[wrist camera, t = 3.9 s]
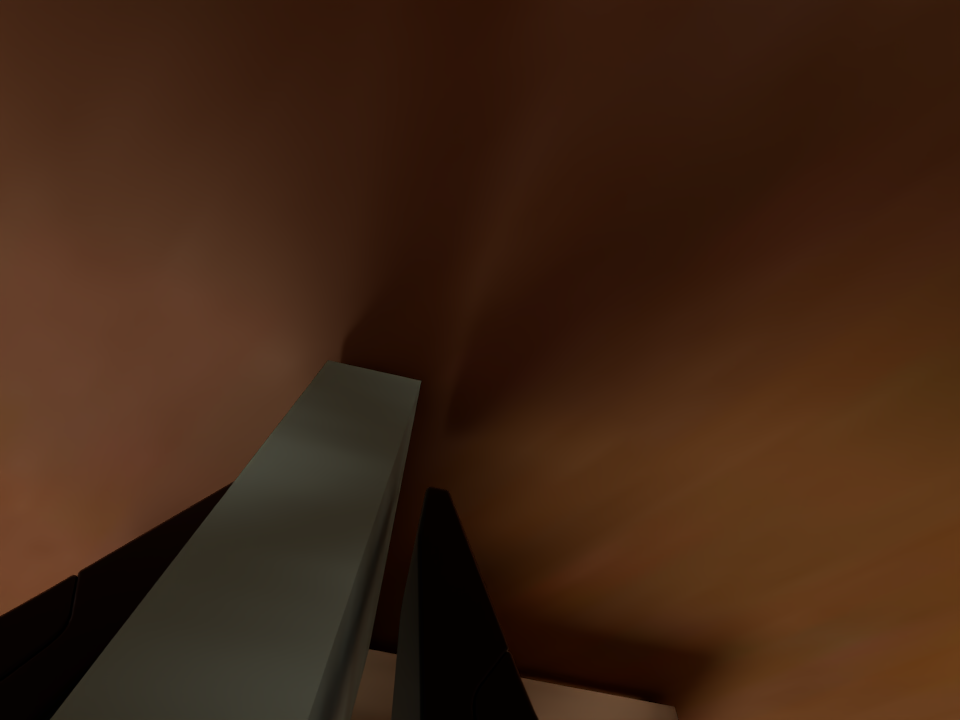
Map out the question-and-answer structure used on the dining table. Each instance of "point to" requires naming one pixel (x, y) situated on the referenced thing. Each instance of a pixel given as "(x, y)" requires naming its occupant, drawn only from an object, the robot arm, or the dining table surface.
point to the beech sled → (291, 583)
